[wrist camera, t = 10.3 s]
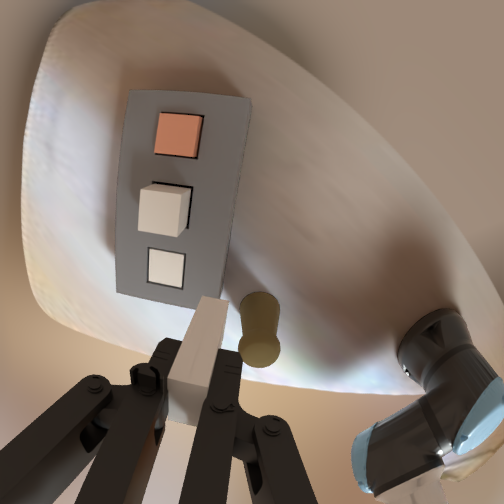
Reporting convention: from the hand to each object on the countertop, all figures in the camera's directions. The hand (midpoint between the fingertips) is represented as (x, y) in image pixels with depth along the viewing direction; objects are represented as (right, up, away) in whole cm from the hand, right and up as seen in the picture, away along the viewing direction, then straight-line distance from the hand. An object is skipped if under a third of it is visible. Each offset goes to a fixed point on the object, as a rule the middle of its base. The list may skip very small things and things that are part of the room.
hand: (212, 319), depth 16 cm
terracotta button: (-6, +17, +16) cm, 24 cm away
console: (-7, +11, +22) cm, 25 cm away
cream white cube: (-7, +9, +16) cm, 20 cm away
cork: (+3, -5, +27) cm, 28 cm away
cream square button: (-8, +3, +23) cm, 24 cm away
